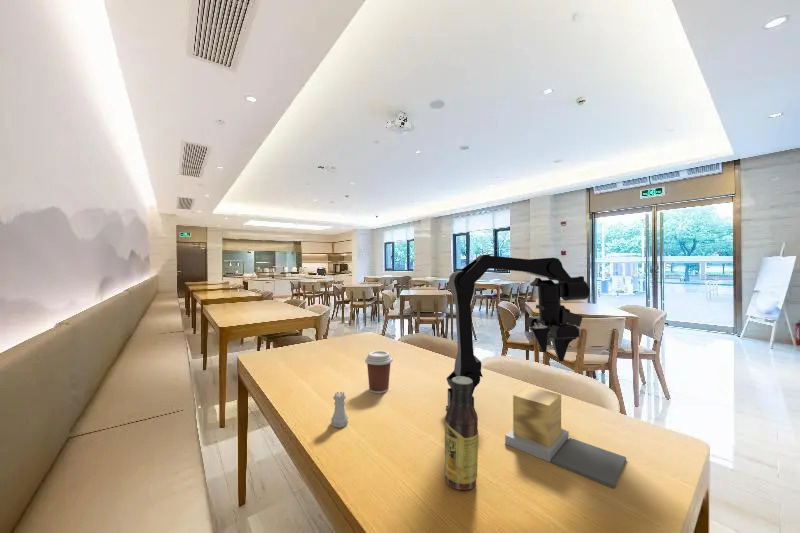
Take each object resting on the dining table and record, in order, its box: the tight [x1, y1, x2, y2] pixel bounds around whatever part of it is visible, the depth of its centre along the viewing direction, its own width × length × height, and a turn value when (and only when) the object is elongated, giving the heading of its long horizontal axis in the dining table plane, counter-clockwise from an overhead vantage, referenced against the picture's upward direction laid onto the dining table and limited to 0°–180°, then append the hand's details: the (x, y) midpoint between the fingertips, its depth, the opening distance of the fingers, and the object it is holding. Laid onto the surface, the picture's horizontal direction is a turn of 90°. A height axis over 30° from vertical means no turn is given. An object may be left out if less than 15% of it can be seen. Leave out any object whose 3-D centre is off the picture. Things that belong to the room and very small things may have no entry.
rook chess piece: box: [330, 391, 349, 429], centre depth 84 cm, size 4×4×8 cm
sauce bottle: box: [444, 376, 479, 491], centre depth 61 cm, size 6×6×20 cm
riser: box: [504, 428, 570, 463], centre depth 75 cm, size 10×12×2 cm
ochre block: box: [512, 385, 562, 447], centre depth 75 cm, size 8×8×9 cm
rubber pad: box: [551, 437, 627, 489], centre depth 67 cm, size 11×12×1 cm
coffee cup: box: [364, 350, 393, 394], centre depth 107 cm, size 9×9×12 cm
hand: (552, 356), depth 91 cm, fingers open, 9 cm apart
